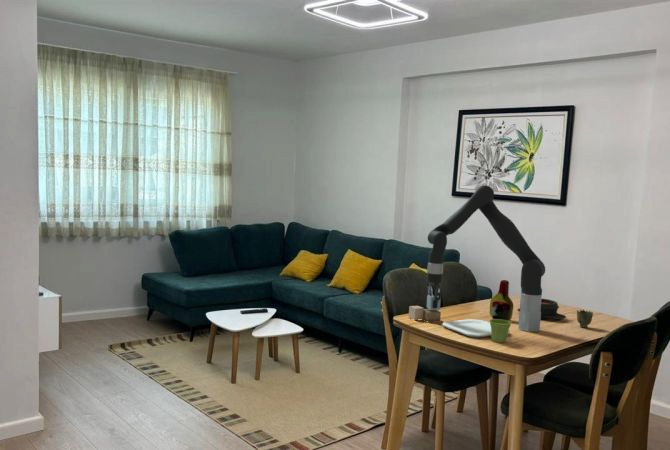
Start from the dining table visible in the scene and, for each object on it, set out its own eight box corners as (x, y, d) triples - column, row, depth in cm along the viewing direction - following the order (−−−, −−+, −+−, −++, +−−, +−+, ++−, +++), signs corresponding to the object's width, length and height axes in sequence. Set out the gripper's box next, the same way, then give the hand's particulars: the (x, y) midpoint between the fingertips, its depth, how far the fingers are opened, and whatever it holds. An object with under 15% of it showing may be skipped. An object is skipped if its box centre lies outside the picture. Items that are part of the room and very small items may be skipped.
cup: (583, 325, 302) (585, 309, 301) (595, 329, 295) (596, 312, 295) (572, 325, 299) (573, 309, 299) (583, 329, 292) (584, 313, 292)
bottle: (514, 320, 303) (517, 281, 302) (508, 322, 299) (511, 282, 297) (493, 316, 312) (496, 277, 310) (486, 317, 307) (489, 278, 305)
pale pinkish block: (423, 320, 295) (423, 307, 294) (414, 320, 292) (415, 308, 292) (417, 317, 299) (417, 305, 298) (408, 318, 297) (409, 306, 296)
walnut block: (440, 322, 292) (440, 312, 291) (426, 322, 290) (426, 312, 290) (435, 319, 299) (435, 309, 298) (421, 319, 297) (422, 309, 297)
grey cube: (440, 309, 292) (440, 297, 291) (430, 309, 291) (430, 297, 290) (436, 307, 297) (436, 295, 296) (426, 307, 296) (427, 295, 295)
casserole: (572, 319, 314) (573, 303, 314) (555, 324, 301) (557, 307, 301) (527, 310, 332) (528, 294, 331) (510, 314, 319) (511, 298, 318)
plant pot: (484, 341, 261) (486, 321, 261) (491, 336, 269) (493, 317, 269) (506, 345, 256) (507, 325, 256) (512, 341, 264) (514, 321, 263)
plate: (437, 326, 284) (437, 321, 284) (477, 322, 296) (478, 318, 296) (472, 340, 262) (472, 335, 262) (514, 336, 274) (515, 331, 274)
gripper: (448, 274, 286) (445, 310, 287) (436, 269, 300) (434, 303, 301) (433, 274, 284) (430, 310, 286) (422, 269, 298) (420, 303, 300)
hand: (432, 306), depth 294 cm, fingers closed on grey cube, 5 cm apart
